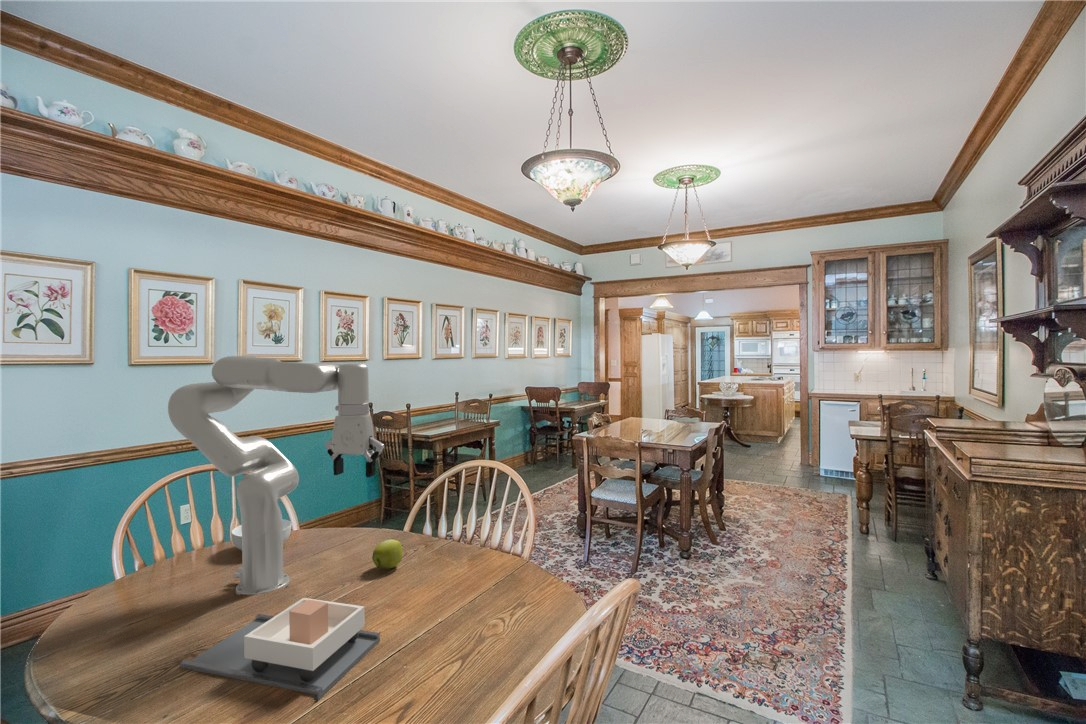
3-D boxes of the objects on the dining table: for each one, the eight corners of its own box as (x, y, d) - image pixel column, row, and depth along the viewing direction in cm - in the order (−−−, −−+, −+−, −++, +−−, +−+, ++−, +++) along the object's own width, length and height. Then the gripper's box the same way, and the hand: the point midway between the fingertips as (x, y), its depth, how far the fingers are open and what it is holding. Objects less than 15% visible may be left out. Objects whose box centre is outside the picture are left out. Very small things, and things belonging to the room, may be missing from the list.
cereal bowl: (249, 563, 148) (248, 539, 148) (221, 552, 157) (220, 529, 157) (302, 544, 163) (302, 523, 163) (274, 535, 172) (273, 515, 171)
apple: (410, 565, 146) (409, 538, 146) (385, 576, 139) (385, 548, 138) (392, 559, 150) (391, 533, 150) (367, 570, 143) (366, 542, 143)
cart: (244, 672, 95) (244, 636, 95) (303, 628, 110) (303, 597, 110) (313, 686, 91) (312, 648, 91) (364, 638, 106) (364, 606, 106)
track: (180, 672, 97) (180, 662, 97) (259, 621, 116) (258, 613, 116) (318, 700, 89) (318, 690, 89) (379, 641, 107) (379, 633, 107)
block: (289, 641, 99) (289, 611, 99) (308, 627, 104) (308, 599, 104) (310, 645, 97) (309, 615, 97) (328, 631, 102) (327, 602, 102)
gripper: (315, 411, 129) (316, 476, 129) (374, 412, 125) (374, 480, 125) (335, 408, 136) (335, 470, 137) (390, 409, 132) (391, 473, 132)
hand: (354, 475), depth 131 cm, fingers open, 9 cm apart
